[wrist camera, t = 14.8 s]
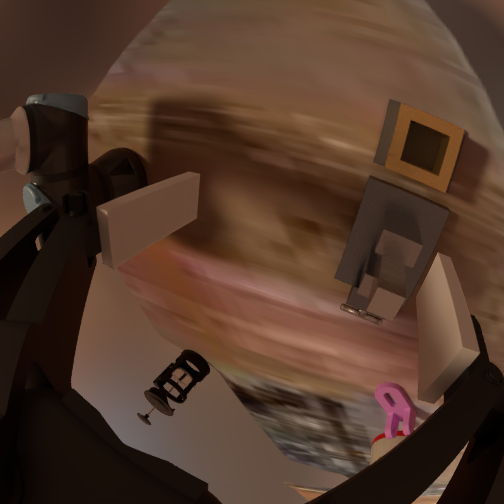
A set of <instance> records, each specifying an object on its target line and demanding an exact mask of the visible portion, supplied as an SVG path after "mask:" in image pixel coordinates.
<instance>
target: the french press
mask: <svg viewBox="0 0 504 504" xmlns="http://www.w3.org/2000/svg"><path fill="white" fill-rule="evenodd" d="M186 360H188V361H189V362H191V363H192V364H194V365H195V366H196V367H197V368H198V370H199V371H200V372H198V371H196V370H194V369H193V368H191V367H190V366H189V365H188V363H187V362H186ZM209 373H210V368H209V365H208V363H207V362H206V361H205V359H204V358H203V357H201V356H200V355H199V354H197V353H196V352H194V351H191V350H184V351H183V352H182V353H181V355H180V356H179V357H178V358H177V359H176V363H171V364H170V365H169V366H168V367H167V368H166V369H165V370H164V371H163V372H162V373H161V374H160V375H159V376H158V377H157V378H156V379H155V380H154V381H153V383H154V385H155V386H156V387H158V388H159V389H158V388H155V387H151V388H150V389H149V390H146V391H145V392H144V394H145V397H146V398H147V400H148V401H149V402H150V403H151V404H152V405H153V406H154V408H153V409H152V410H151V411H150V412H149V413H148V414H146V415H145V416H143V415H141V414H140V413H137V415H138V417H139V418H140V419H141V420H142V421H143V422H145V423H146V424H148V425H151V423H150V422H149V421H148V419H147V418H148V417H149V414H150V413H151V412H152V411H153V410H154V409H155V408H156V409H157V410H159V411H160V412H162V413H163V414H166V415H168V416H172V415H173V411H174V410H175V409H171V407H170V406H169V404H168V401H167V397H168V398H170V399H171V400H173V401H174V402H177V403H184V401H185V400H186V399H187V394H188V393H189V391H190V390H191V389H194V388H195V385H196V383H197V382H201V381H202V380H203V379H204V378H205V376H206V375H208V374H209ZM172 376H173V377H174V379H175V380H176V381H177V383H176V382H175V381H173V380H172V379H170V378H171V377H172ZM166 382H168V383H169V384H171V385H172V386H173V387H172V388H171V390H170V391H169V392H168V391H167V390H166V389H165V388H164V387H163V385H164V384H165V383H166ZM178 383H180V384H181V385H183V386H184V387H186V388H185V389H184V390H183V389H182V388H181V387H180V386H179V385H178ZM173 388H175V389H177V390H178V392H179V393H180V395H179V396H178V397H177V398H176V397H174V396H173V395H171V394H170V392H171V391H172V389H173ZM182 399H183V400H182Z"/></svg>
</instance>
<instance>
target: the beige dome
mask: <svg viewBox="0 0 504 504" xmlns="http://www.w3.org/2000/svg"><path fill="white" fill-rule="evenodd" d="M407 436H409V435H406V436H405V435H404V433H403V431H397V435H396V437H395V438H392V439H387V438H386V436H385V433H383V434H381V435H379V436H377V437H376V438H375V439H374V441H373V443H372V448H371V459H372V460H371V461H370V465H371V464H372V463H374V462H375V461H376V460H378V459H379V458H381V457H382V456H383V455H385V454H386V453H387V452H389V451H390V450H391V449H393V448H394V447H395V446H396V445H398V444H399V443H400V442H401V441H403V440H404V439H405V438H406V437H407Z"/></svg>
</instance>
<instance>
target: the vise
mask: <svg viewBox="0 0 504 504" xmlns="http://www.w3.org/2000/svg"><path fill="white" fill-rule="evenodd" d="M449 213H450V211H449V209H448V208H447V207H445V206H443V205H441V204H439V203H436V202H434V201H432V200H430V199H428V198H425V197H423V196H421V195H418V194H416V193H414V192H411V191H409V190H407V189H404V188H402V187H399V186H397V185H394V184H392V183H389V182H387V181H384V180H381V179H379V178H376V177H373V176H371V175H370V176H369V179H368V182H367V186H366V189H365V192H364V195H363V198H362V202H361V205H360V208H359V211H358V214H357V217H356V220H355V223H354V226H353V228H352V231H351V234H350V237H349V240H348V243H347V245H346V248H345V251H344V253H343V256H342V259H341V262H340V264H339V267H338V269H337V272H336V275H335V277H334V278H336V279H338V280H340V281H343V282H345V283H348V284H350V285H352V287H351V291H350V294H349V297H348V300H347V303H346V304H348V305H346V304H341V306H340V309H341V310H343V311H346V312H348V313H350V314H353V315H355V316H358V317H360V318H363V319H365V320H368V321H370V322H372V323H375V324H377V325H380V324H381V323H382V319H387V320H390V321H393V319H394V318H395V316H396V314H397V313H398V311H399V309H400V307H401V306H405V304H406V302H407V300H408V299H409V297H410V295H411V293H412V291H413V290H414V288H415V286H416V284H417V282H418V280H419V278H420V276H421V274H422V273H423V271H424V269H425V267H426V265H427V263H428V260H429V258H430V256H431V254H432V252H433V250H434V248H435V246H436V244H437V241H438V239H439V237H440V235H441V232H442V230H443V228H444V225H445V223H446V220H447V218H448V216H449ZM349 305H351V306H353V307H351V306H349ZM354 307H355V308H354ZM356 308H358V309H356ZM368 313H370V314H368ZM371 314H372V315H371ZM373 315H375V316H373ZM376 316H377V317H376ZM378 317H380V318H378ZM381 318H382V319H381Z"/></svg>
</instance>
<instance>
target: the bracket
mask: <svg viewBox="0 0 504 504" xmlns="http://www.w3.org/2000/svg"><path fill="white" fill-rule="evenodd" d="M386 393H391V394H392V395H393V397H394V398H395V400H396V401H397V403H393V402H391V400H390V399H389V397H388V396H387V395H386ZM375 398H376V399H377V401H378V402H379V403H380V405H381V406H382V407H383V409H384V410H385V411H386V413H387V415H388V416H387V421H386V426H385V436H386V438H387V439H392V438H395V437H396V435H397V430H398V425H399V421H401V420H403V425H402V428H403V433H404V435H405V436H406V435H410V434H411V433H412V432H413V431H414V427H415V419H416V411H415V409H414V408H413V406H412V404H411V403H410V401H409V400H408V398H407V397H406V395H405V393H404V392H403V390H402V389H401V387H400V386H399V385H397V384H395V383H390V382H388V383H383V384H380V385H379V386H378V387H377V388H376V392H375Z"/></svg>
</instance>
